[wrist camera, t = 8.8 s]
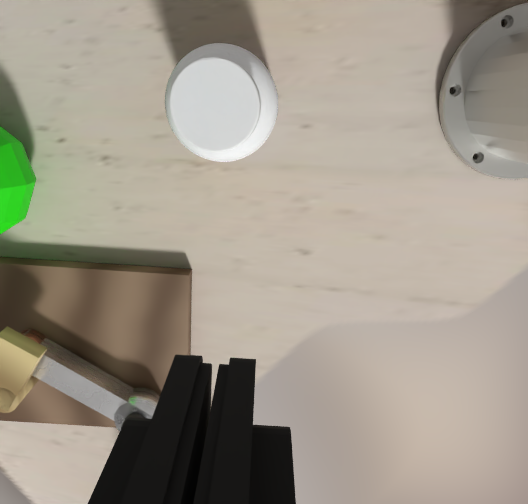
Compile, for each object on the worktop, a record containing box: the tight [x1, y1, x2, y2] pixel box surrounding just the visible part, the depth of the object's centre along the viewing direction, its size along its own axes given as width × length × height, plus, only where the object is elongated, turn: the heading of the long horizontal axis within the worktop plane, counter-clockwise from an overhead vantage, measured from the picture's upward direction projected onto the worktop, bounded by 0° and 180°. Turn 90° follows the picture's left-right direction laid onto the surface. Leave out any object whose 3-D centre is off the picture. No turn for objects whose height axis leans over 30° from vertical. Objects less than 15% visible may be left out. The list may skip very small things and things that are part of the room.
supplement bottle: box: [165, 43, 278, 162], centre depth 29 cm, size 7×7×13 cm
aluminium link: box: [20, 329, 160, 431], centre depth 40 cm, size 15×4×2 cm, turn 55°
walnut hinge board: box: [0, 257, 192, 429], centre depth 39 cm, size 18×16×6 cm
